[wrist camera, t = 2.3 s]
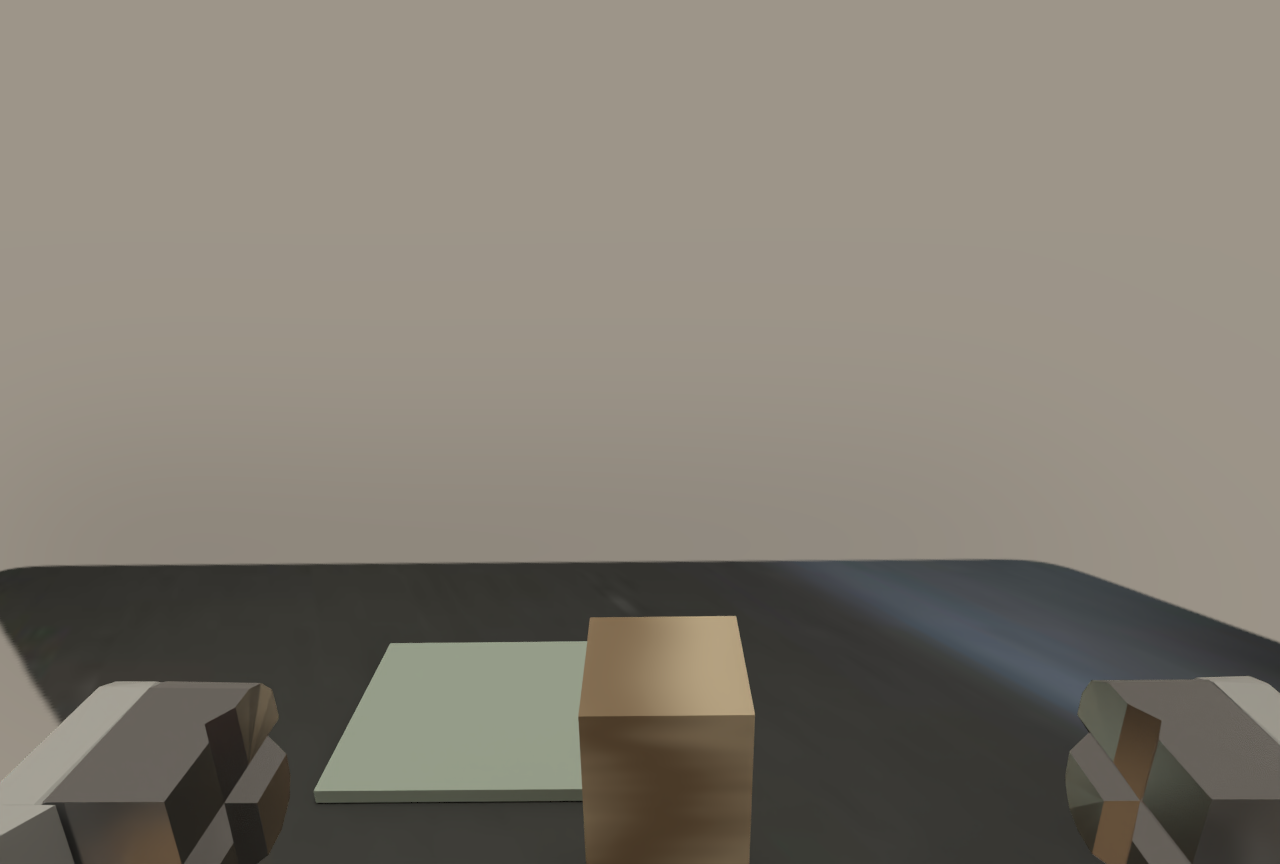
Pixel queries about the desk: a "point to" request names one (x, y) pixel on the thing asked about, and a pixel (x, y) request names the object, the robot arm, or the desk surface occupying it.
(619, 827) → the oak block
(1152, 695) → the robot arm
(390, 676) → the mat
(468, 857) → the desk surface
